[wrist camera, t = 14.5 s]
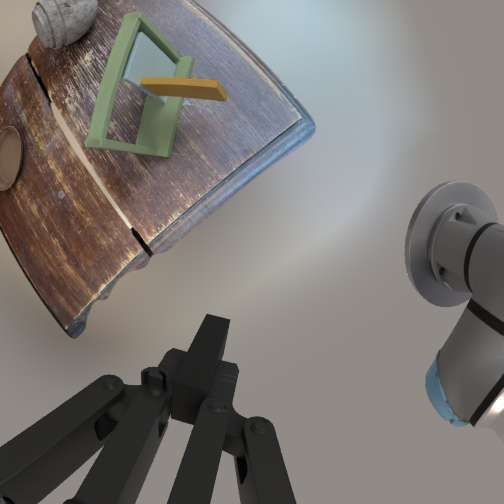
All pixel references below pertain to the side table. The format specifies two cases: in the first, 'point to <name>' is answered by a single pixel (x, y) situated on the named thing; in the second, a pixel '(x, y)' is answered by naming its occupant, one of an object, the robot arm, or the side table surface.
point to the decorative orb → (63, 20)
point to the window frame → (154, 112)
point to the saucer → (10, 156)
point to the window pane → (165, 75)
